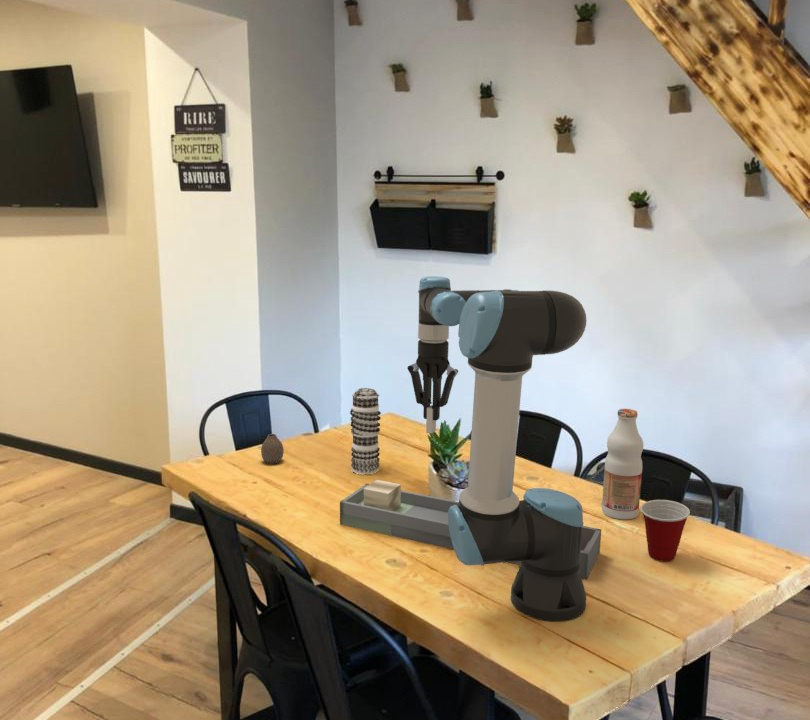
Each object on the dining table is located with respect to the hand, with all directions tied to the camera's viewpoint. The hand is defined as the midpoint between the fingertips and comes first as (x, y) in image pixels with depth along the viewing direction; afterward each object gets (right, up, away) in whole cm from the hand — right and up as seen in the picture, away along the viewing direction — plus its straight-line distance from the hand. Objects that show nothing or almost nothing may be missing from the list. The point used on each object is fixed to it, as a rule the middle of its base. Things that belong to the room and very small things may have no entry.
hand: (431, 431), depth 189 cm
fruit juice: (+50, -23, +9) cm, 56 cm away
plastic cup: (+53, -28, -15) cm, 62 cm away
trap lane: (+8, -25, -7) cm, 27 cm away
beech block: (-12, -20, +2) cm, 24 cm away
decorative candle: (-19, -16, +38) cm, 45 cm away
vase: (-48, -14, +44) cm, 67 cm away
